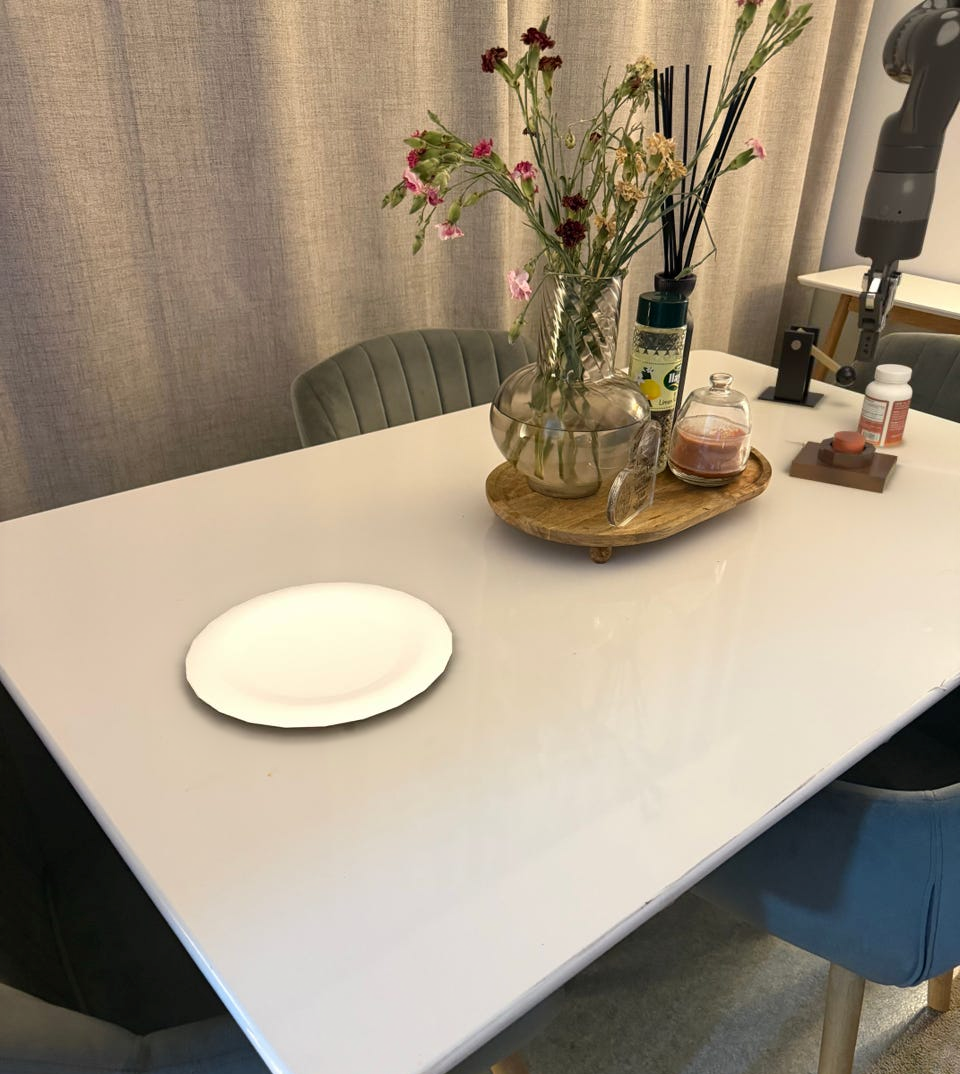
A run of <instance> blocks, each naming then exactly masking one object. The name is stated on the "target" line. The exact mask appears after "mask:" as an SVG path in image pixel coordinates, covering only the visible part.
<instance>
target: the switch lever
mask: <svg viewBox="0 0 960 1074" xmlns="http://www.w3.org/2000/svg"><path fill="white" fill-rule="evenodd" d="M797 331H801V332H805V331H804V330H803V329H801V328H800V329H798V330H797ZM813 340H814V339H813ZM811 355H812V356H814V357H815V360H817V361H819V362H820V363H821V364H823V365H824V366H825V367H826V368H828V369H829V370H831V371H832V372H833V373H834V374H835V375H834V379H835V382H836V384H837V385H839V386H841V387H850V386H852V385H853V384H854V383H855V382H856V380H857V377H858V372H857V370H856V368H855V367H854V366H852V365H848V364H845V365H842V366H841V365H840V364H838V363H837V362H836V360H835V361H834V360H833V358H831V357H830V356H828V355H827V354H826V353H824V352H823V351H821V350H820V349H819V348H818V347H817V348H816V347H815V346H814V345H812V350H811Z"/></svg>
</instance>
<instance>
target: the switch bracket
mask: <svg viewBox="0 0 960 1074" xmlns="http://www.w3.org/2000/svg"><path fill="white" fill-rule="evenodd" d="M800 328H801V329H803V330H804V331H805V332H801V331H797V330H798V329H800ZM820 332H821V327H820V326H812V325H803V324H792V325H790V329H785V330H784V331H783V338H782V344H781V350H780V357H779V362H778V369H777V375H776V379H775V380H776V381H775V386H774V385H773V386H772V385H768V387H767V388H766V389H764V390H763V391H762V393H761V394H760V395H759V396H757V400H759V401H766V402H772V403H779V404H787V405H791V406H793V405H794V406H800V407H805V408H813V409H814V408H815V407H816V406H817V404H819V402H820V401H821V400H822V399H823V397H825V393H821V392H813V391H810V388H811V387H810V386H811V381H812V376H813V371H814V365H815V360H816V358H815V357H814V356H812V355H811V350H812V345H814V346H815V347H816V348H818V344H819V338H820V334H821V333H820ZM813 339H814V340H813Z"/></svg>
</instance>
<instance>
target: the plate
mask: <svg viewBox="0 0 960 1074" xmlns="http://www.w3.org/2000/svg"><path fill="white" fill-rule="evenodd" d="M452 655H453V633H452V631H451V629H450V627H449V625H448V624H447V622H446V619H445V618H444V616H443V615H441V613H439V612H438V611H437V610H436V609H435V608H433V607H432V606H431V605H430V604H429V603H427V602H426V601H424V600H422V599H419V598H417V597H416V596H414V595H411V594H409V593H407V592H404V591H402V590H398V589H394V588H390V587H387V586H383V585H379V584H371V583H370V584H369V583H362V582H361V583H360V582H351V581H343V582H342V581H339V582H338V581H337V582H315V583H308V584H302V585H295V586H289V587H284V588H282V589H277V590H274V591H271V592H267V593H264V594H259V595H257V596H255V597H253V598H251V599H248V600H246V601H244V602H242V603H240V604H236V605H235V606H232V607H231V608H230V609H228V610H226V611H225V612H223V613H222V614H221V615H219V616H218V617H216V618H214V619H212V621H210V622H209V623H208V624H207V625H206V626H205V627H204V628H203V630H202V631H201V632H200V633H198V635H197V636H196V637H195V638H194V639H193V641H192V643H191V645H190V648H189V650H188V652H187V655H186V657H185V662H184V663H185V676H186V681H187V683H188V684H189V686H190V688H191V689H192V690H193V692H194V694H195V695H196V697H197V698H198V699H199V700H200V701H201V702H203V703H205V704H206V705H207V706H208V707H210V708H211V709H212V710H214V711H215V712H217V713H219V714H220V715H223V716H226V717H229V718H232V719H235V720H238V721H240V722H243V723H245V724H249V725H253V726H262V727H270V728H275V729H281V730H282V729H283V730H293V729H294V730H297V729H299V730H301V729H302V730H303V729H325V728H331V727H336V726H342V725H347V724H348V725H349V724H352V723H358V722H363V721H366V720H369V719H371V718H374V717H377V716H380V715H383V714H385V713H388V712H390V711H393V710H395V709H398V708H400V707H402V706H403V705H405V704H407V703H408V702H410V701H411V700H414V699H415V698H417V697H418V696H420V695H421V694H423V693H425V692H426V691H427V690H428V689H429V688H430V687H431V686H432V685H433V684H434V683H435V682H436V681H437V680H438V679H439V678H440V677H441V676H442V675H443V674H444V673H445V670H446V668H447V666H448V664H449V662H450V659H451V657H452Z"/></svg>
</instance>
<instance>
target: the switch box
mask: <svg viewBox="0 0 960 1074" xmlns="http://www.w3.org/2000/svg"><path fill="white" fill-rule="evenodd" d="M833 438H834V436H832V437H829V438H824V439H822V440H821V442H816V441H812V440H811V441H810V440H808V441H807V442H806V443H805V445H803V447H802V448H801V450H800V451H799V452H798V453H797V454H796V456H795V457H794V458H793V460H791V464H790V470H789V476H788V477H790V478H795V479H800V480H806V481H812V482H817V483H822V484H828V485H833V486H839V487H843V488H850V489H855V490H861V491H864V492H865V491H866V492H870V493H871V492H872V493H876V494H881V495H882V494H883V493H884V491H885V489H886V487H887V485H888V484H889V482H890V480H891V478H892V476H893V474H894V472H895V470H896V466H897V463H898V462H897V461H898V457H899V456H898V455H893V454H888V453H883V452H877V448H876V447H875V445H872V444H871V443H869V442H866V441H865V445H864V449H863V451H861V452H845V451H839V450H837V449H834V448H832V443H833Z"/></svg>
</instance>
